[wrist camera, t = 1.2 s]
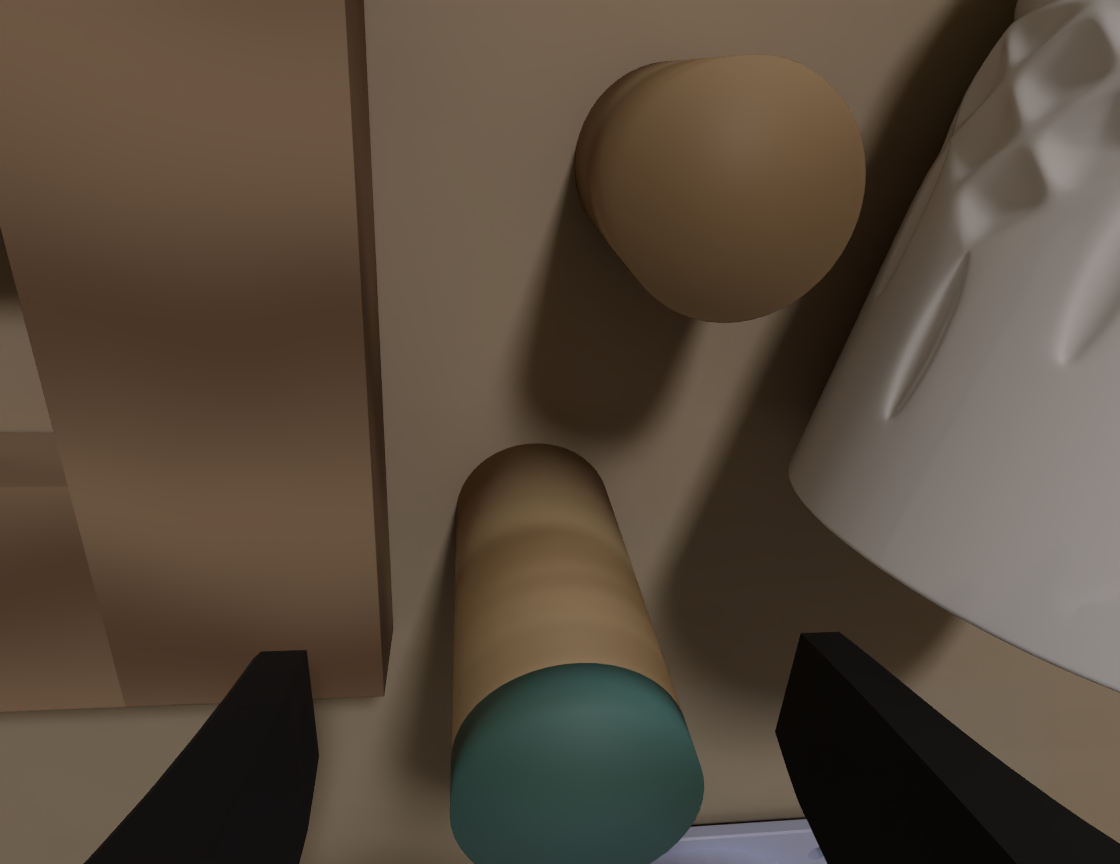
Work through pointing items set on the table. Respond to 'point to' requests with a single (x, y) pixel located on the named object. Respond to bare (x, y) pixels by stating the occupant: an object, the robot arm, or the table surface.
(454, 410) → the table surface
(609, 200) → the short dowel
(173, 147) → the wooden board with hole
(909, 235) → the white cup
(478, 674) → the long dowel
